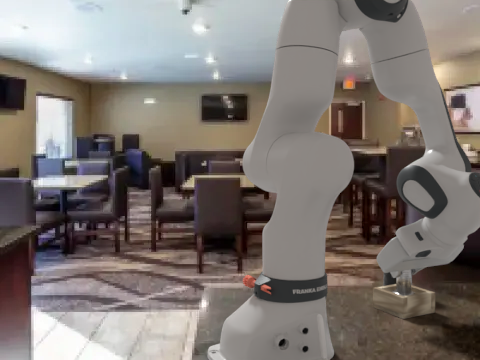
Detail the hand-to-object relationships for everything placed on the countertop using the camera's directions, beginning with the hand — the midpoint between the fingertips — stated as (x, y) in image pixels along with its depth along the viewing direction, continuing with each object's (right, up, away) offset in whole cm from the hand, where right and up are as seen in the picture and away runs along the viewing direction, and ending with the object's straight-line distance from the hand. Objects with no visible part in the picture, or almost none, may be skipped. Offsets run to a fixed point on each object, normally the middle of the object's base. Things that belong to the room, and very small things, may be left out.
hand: (401, 273), depth 117 cm
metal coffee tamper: (0, -6, 0) cm, 6 cm away
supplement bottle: (+3, -7, +13) cm, 15 cm away
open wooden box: (0, -8, 0) cm, 8 cm away
